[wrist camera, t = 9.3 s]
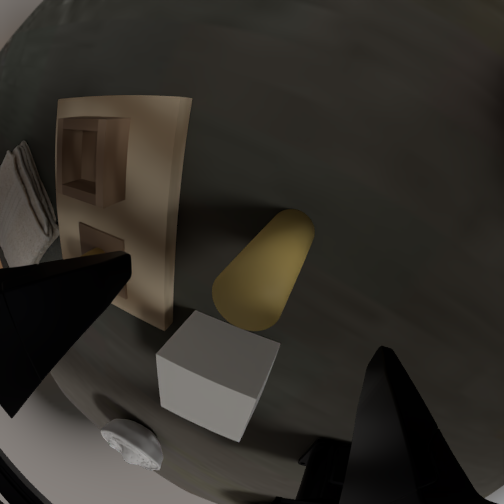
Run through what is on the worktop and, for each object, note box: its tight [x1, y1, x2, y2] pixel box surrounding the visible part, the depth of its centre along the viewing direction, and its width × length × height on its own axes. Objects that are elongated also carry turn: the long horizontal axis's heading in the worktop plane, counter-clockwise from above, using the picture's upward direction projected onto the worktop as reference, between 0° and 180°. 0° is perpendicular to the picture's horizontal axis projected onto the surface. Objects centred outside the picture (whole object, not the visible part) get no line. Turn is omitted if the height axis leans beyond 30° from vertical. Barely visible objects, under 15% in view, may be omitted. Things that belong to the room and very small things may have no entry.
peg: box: [212, 209, 315, 331], centre depth 12 cm, size 2×2×7 cm
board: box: [55, 95, 192, 331], centre depth 17 cm, size 16×12×5 cm
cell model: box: [100, 419, 163, 471], centre depth 32 cm, size 10×12×7 cm
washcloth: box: [0, 141, 60, 267], centre depth 25 cm, size 12×18×3 cm, turn 123°
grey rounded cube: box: [156, 310, 281, 442], centre depth 19 cm, size 6×6×5 cm
